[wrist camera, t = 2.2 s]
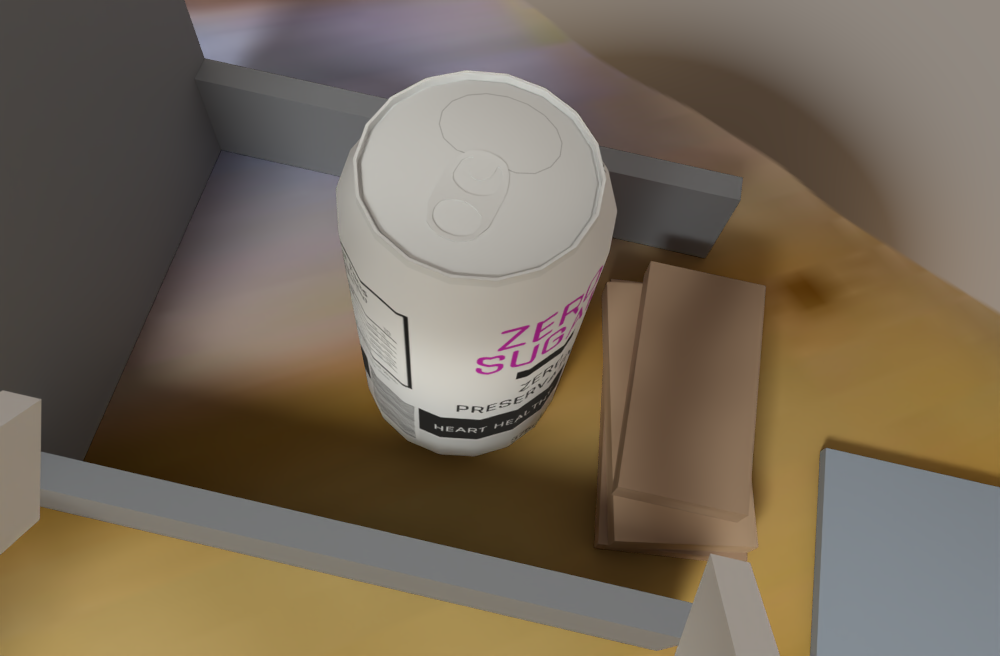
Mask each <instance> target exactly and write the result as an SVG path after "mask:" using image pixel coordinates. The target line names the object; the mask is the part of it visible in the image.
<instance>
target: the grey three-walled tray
mask: <svg viewBox="0 0 1000 656" xmlns="http://www.w3.org/2000/svg"><path fill="white" fill-rule="evenodd" d="M387 101H388V99H386V98H381V97H377V96H372V95H368V94H363V93H359V92H354V91H350V90H345V89H341V88H336V87H332V86H327V85H323V84H318V83H314V82H309V81H304V80H300V79H295V78H291V77H286V76H282V75H277V74H273V73H268V72H264V71H259V70H255V69H250V68H246V67H241V66H237V65H232V64H228V63H223V62H219V61H214V60H210V59H205V58H204V56H203V53H202V50H201V47H200V44H199V41H198V38H197V35H196V33H195V30H194V27H193V24H192V21H191V18H190V15H189V12H188V10H187V7H186V4H185V1H184V0H0V392H1V391H3V390H4V391H8V392H12V393H17V394H21V395H25V396H30V397H34V398H38V399H41V463H40V506H41V507H45V508H49V509H54V510H58V511H62V512H66V513H71V514H75V515H79V516H83V517H88V518H92V519H96V520H101V521H105V522H109V523H113V524H118V525H122V526H126V527H130V528H135V529H139V530H143V531H148V532H152V533H156V534H160V535H165V536H169V537H173V538H177V539H182V540H186V541H190V542H194V543H199V544H203V545H207V546H212V547H216V548H220V549H224V550H229V551H233V552H237V553H241V554H246V555H250V556H254V557H259V558H263V559H267V560H271V561H276V562H280V563H284V564H288V565H293V566H297V567H301V568H305V569H310V570H314V571H318V572H323V573H327V574H331V575H335V576H340V577H344V578H348V579H352V580H357V581H361V582H365V583H369V584H374V585H378V586H382V587H387V588H391V589H395V590H399V591H404V592H408V593H412V594H416V595H421V596H425V597H429V598H434V599H438V600H442V601H446V602H451V603H455V604H459V605H463V606H468V607H472V608H476V609H480V610H485V611H489V612H493V613H498V614H502V615H506V616H510V617H515V618H519V619H523V620H527V621H532V622H536V623H540V624H545V625H549V626H553V627H557V628H562V629H566V630H570V631H574V632H579V633H583V634H587V635H591V636H596V637H600V638H604V639H609V640H613V641H617V642H621V643H626V644H630V645H634V646H638V647H643V648H647V649H651V650H656V651H658V650H662V649H666V648H670V647H673V646H677V645H678V644H679V641H680V639H681V636H682V633H683V630H684V627H685V624H686V621H687V619H688V616H689V613H690V610H691V607H692V604H693V603H689V602H685V601H681V600H677V599H672V598H668V597H664V596H659V595H655V594H651V593H646V592H642V591H638V590H634V589H629V588H625V587H621V586H616V585H612V584H608V583H603V582H599V581H595V580H591V579H586V578H582V577H578V576H573V575H569V574H565V573H561V572H556V571H552V570H548V569H543V568H539V567H535V566H530V565H526V564H522V563H518V562H513V561H509V560H505V559H500V558H496V557H492V556H488V555H483V554H479V553H475V552H470V551H466V550H462V549H457V548H453V547H449V546H445V545H440V544H436V543H432V542H427V541H423V540H419V539H414V538H410V537H406V536H402V535H397V534H393V533H389V532H384V531H380V530H376V529H372V528H367V527H363V526H359V525H354V524H350V523H346V522H341V521H337V520H333V519H329V518H324V517H320V516H316V515H311V514H307V513H303V512H299V511H294V510H290V509H286V508H281V507H277V506H273V505H268V504H264V503H260V502H256V501H251V500H247V499H243V498H238V497H234V496H230V495H225V494H221V493H217V492H213V491H208V490H204V489H200V488H195V487H191V486H187V485H183V484H178V483H174V482H170V481H165V480H161V479H157V478H152V477H148V476H144V475H140V474H135V473H131V472H127V471H122V470H118V469H114V468H110V467H105V466H101V465H97V464H92V463H88V462H84V461H83V460H84V457H85V455H86V453H87V451H88V448H89V446H90V444H91V442H92V439H93V437H94V435H95V433H96V430H97V428H98V426H99V424H100V421H101V419H102V417H103V415H104V412H105V410H106V408H107V406H108V403H109V401H110V399H111V397H112V394H113V392H114V390H115V388H116V385H117V383H118V381H119V379H120V376H121V374H122V372H123V370H124V367H125V365H126V363H127V361H128V358H129V356H130V354H131V352H132V349H133V347H134V345H135V343H136V340H137V338H138V336H139V334H140V331H141V329H142V327H143V325H144V322H145V320H146V318H147V316H148V313H149V311H150V309H151V307H152V304H153V302H154V300H155V298H156V295H157V293H158V291H159V289H160V286H161V284H162V282H163V280H164V277H165V275H166V273H167V271H168V268H169V266H170V264H171V262H172V259H173V257H174V255H175V253H176V250H177V248H178V246H179V244H180V241H181V239H182V237H183V235H184V232H185V230H186V228H187V226H188V223H189V221H190V219H191V217H192V214H193V212H194V210H195V208H196V205H197V203H198V201H199V199H200V196H201V194H202V192H203V190H204V187H205V185H206V183H207V181H208V178H209V176H210V174H211V172H212V169H213V167H214V165H215V163H216V160H217V158H218V156H219V154H220V151H221V150H224V151H228V152H233V153H237V154H242V155H246V156H251V157H255V158H259V159H264V160H268V161H273V162H277V163H282V164H286V165H291V166H295V167H300V168H304V169H309V170H313V171H318V172H322V173H326V174H331V175H335V176H341V173H342V171H343V168H344V165H345V163H346V160H347V157H348V154H349V152H350V149H351V148H352V147H353V146H354V145H355V144H356V143H357V142H358V140H359V139H360V138H361V136H362V133H363V130H364V128H365V125H366V124H367V122H368V121H369V120H370V119H371V118H372V117H373V116H374V115H375V114H376V113H377V112H378V110H379V109H380V108H381V107H382V106H383V105H384V104H385V103H386V102H387ZM599 149H600V154H601V158H602V161H603V162H604V164H605V166H606V167H607V169H608V171H609V176H610V180H611V185H612V189H613V194H614V198H615V203H616V207H617V215H616V220H615V225H614V231H613V236H612V238H617V239H621V240H626V241H630V242H635V243H639V244H644V245H648V246H653V247H657V248H662V249H666V250H670V251H675V252H679V253H684V254H688V255H693V256H697V257H702V258H706V256H707V255H708V253H709V251H710V250H711V248H712V246H713V245H714V243H715V241H716V240H717V238H718V236H719V235H720V233H721V232H722V230H723V228H724V227H725V225H726V223H727V222H728V220H729V218H730V217H731V215H732V213H733V212H734V210H735V208H736V207H737V205H738V204H739V202H740V200H741V190H742V181H743V178H742V177H738V176H733V175H729V174H724V173H720V172H715V171H711V170H706V169H702V168H697V167H693V166H688V165H684V164H679V163H675V162H670V161H666V160H661V159H657V158H652V157H647V156H643V155H638V154H634V153H629V152H625V151H620V150H616V149H611V148H607V147H602V146H599Z"/></svg>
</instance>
